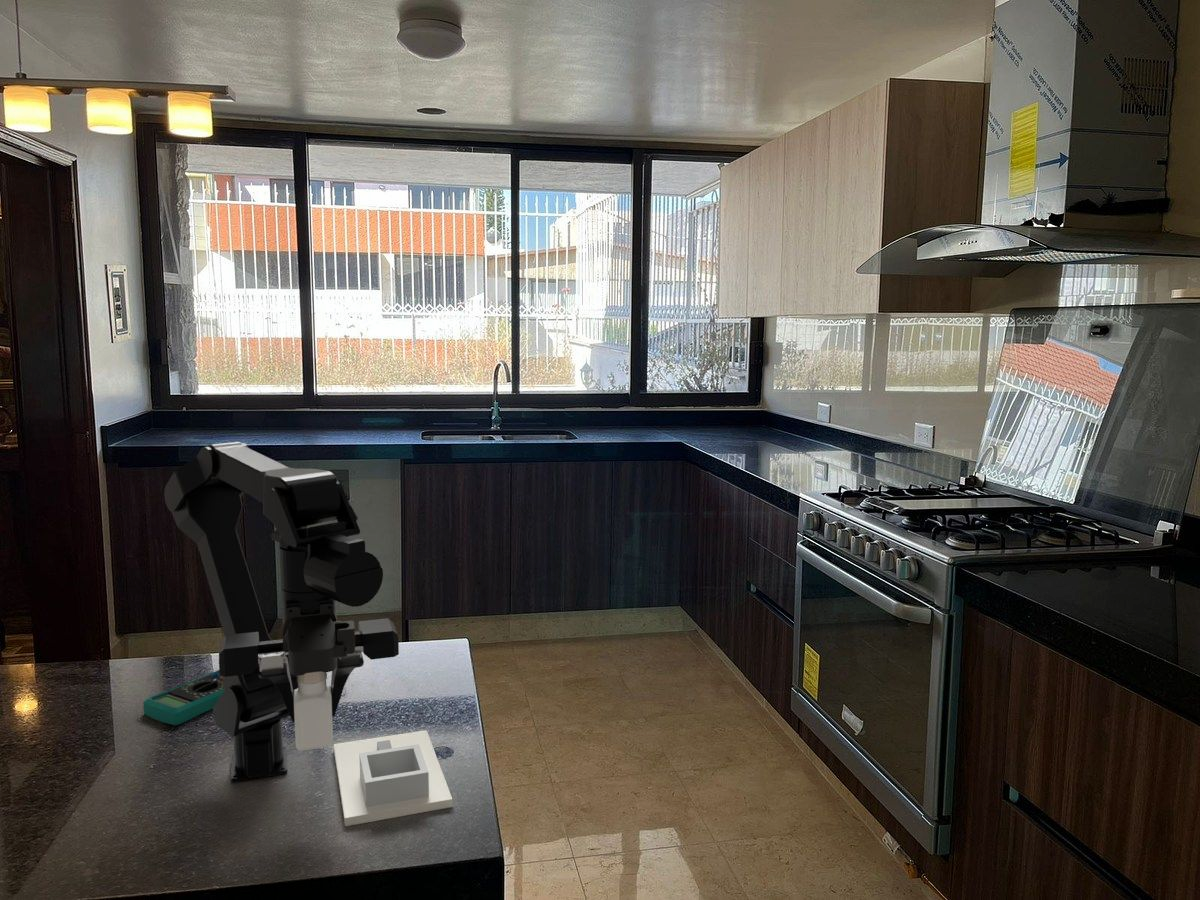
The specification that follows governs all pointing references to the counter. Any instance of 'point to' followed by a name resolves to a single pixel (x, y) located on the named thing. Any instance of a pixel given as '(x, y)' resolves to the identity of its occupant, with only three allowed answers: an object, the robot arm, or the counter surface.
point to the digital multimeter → (185, 700)
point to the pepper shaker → (313, 712)
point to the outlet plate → (389, 777)
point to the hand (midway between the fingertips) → (313, 717)
